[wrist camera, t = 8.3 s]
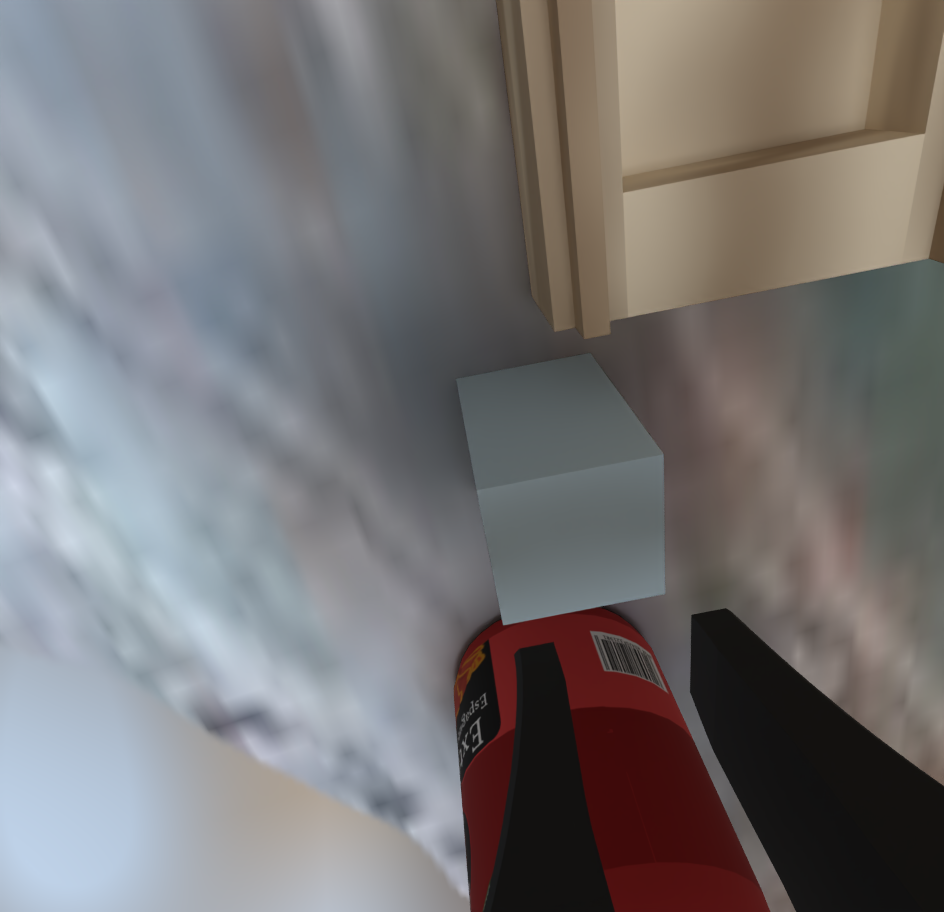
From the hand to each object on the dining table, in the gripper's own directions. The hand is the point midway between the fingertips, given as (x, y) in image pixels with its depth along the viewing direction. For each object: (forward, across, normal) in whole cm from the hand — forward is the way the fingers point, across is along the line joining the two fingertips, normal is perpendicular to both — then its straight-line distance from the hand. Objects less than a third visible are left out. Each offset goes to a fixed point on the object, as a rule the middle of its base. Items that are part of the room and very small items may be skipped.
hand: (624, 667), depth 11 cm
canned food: (+10, 0, +11) cm, 15 cm away
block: (+10, 0, 0) cm, 10 cm away
